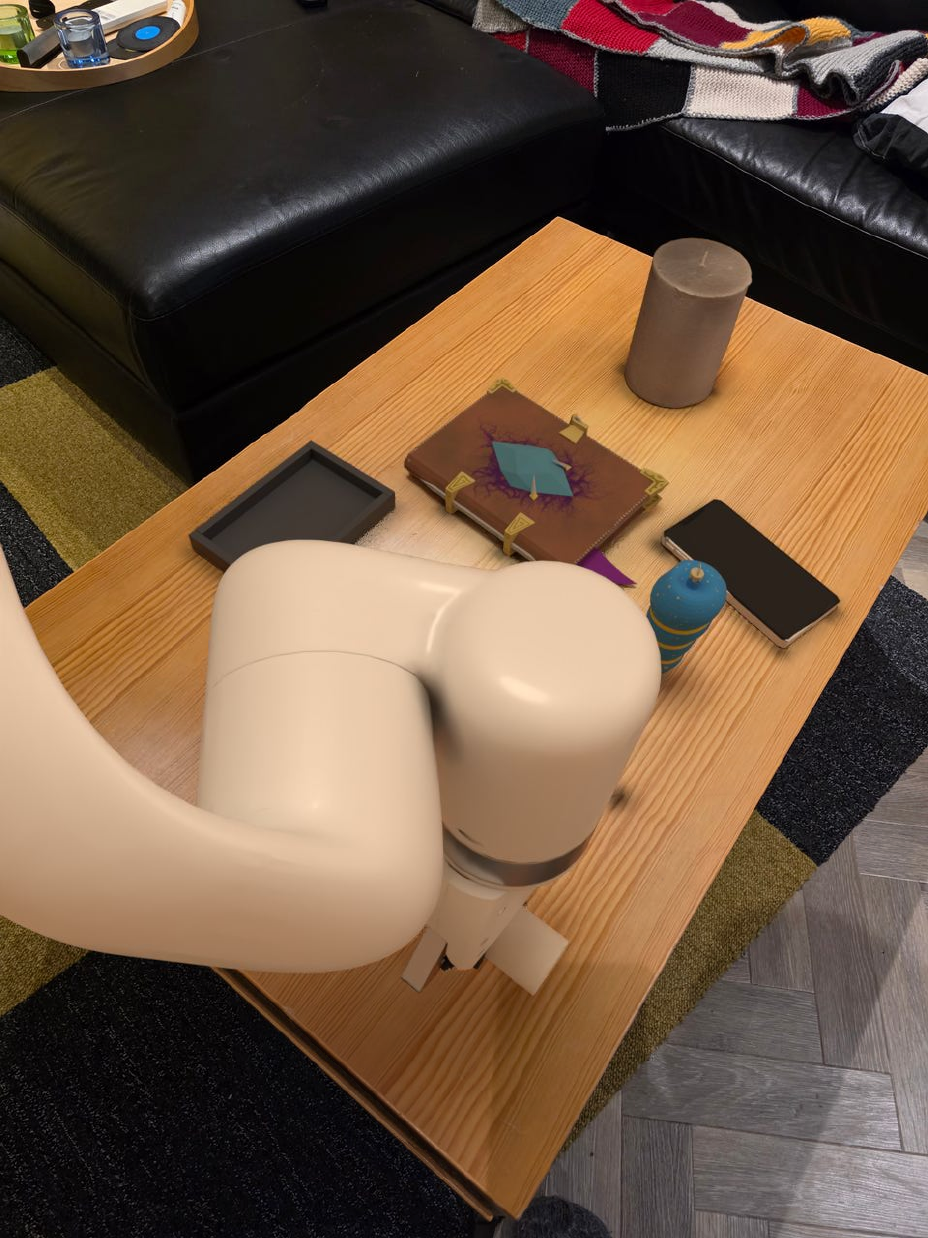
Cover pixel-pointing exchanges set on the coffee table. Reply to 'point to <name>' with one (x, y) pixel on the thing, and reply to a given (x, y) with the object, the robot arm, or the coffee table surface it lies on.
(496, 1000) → the coffee table surface
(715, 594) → the ornament
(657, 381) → the pillar candle
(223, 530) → the tray
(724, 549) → the smartphone
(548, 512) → the book
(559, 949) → the marker
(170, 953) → the robot arm
